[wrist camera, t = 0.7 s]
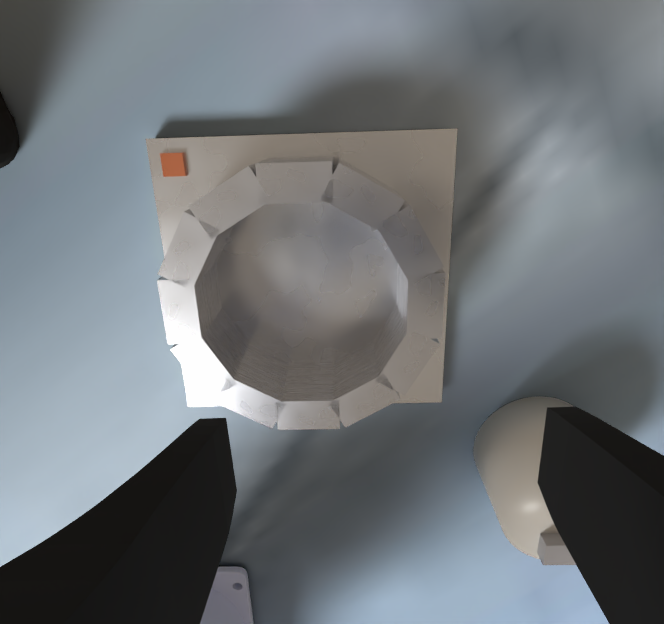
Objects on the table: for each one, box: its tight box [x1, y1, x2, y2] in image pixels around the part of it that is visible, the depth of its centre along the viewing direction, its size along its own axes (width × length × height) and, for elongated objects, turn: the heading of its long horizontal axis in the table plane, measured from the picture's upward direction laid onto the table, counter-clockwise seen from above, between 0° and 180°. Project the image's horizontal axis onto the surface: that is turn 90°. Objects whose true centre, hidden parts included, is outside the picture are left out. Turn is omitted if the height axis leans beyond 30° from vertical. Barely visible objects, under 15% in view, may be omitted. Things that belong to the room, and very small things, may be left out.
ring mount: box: [146, 128, 458, 430], centre depth 18 cm, size 11×11×4 cm
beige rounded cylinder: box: [473, 396, 576, 565], centre depth 20 cm, size 5×5×5 cm
